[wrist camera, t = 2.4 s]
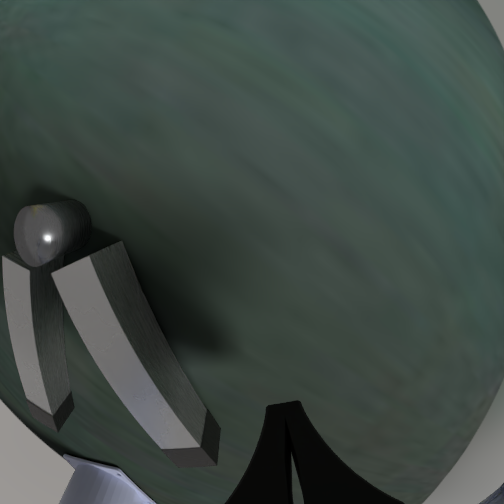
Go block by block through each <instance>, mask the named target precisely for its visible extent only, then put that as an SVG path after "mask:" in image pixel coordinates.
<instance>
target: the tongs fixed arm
mask: <svg viewBox="0 0 504 504" xmlns="http://www.w3.org/2000/svg"><path fill="white" fill-rule="evenodd" d="M91 228H92V226H91V218H90V215H89V212H88V210H87V209H86V207H85V206H84V205H83V204H82V203H81V202H79V201H76V200H67V201H59V202H51V203H44V204H37V205H30V206H26V207H24V208H23V209H21V210H20V212H19V213H18V215H17V217H16V220H15V225H14V240H15V245H16V248H17V251H14V252H11V253H8V254H6V255H3V256H2V265H3V284H4V295H5V305H6V312H7V319H8V326H9V331H10V337H11V342H12V347H13V351H14V355H15V360H16V364H17V367H18V371H19V375H20V378H21V382H22V385H23V388H24V391H25V394H26V397H27V400H26V401H27V404H28V406H29V409H30V412H31V414H32V417H34V418H35V419H37V420H38V421H40V422H41V423H43V424H44V425H46V426H48V427H49V428H51V429H53V430H54V431H56V432H59V430H60V429H61V427H62V426H63V424H64V423H65V421H66V420H67V418H68V417H69V415H70V414H71V412H72V411H73V409H74V403H73V398H72V392H71V390H70V384H69V377H68V370H67V362H66V354H65V343H64V329H63V300H62V298H61V296H60V293H59V291H58V289H57V287H56V284H55V282H54V279H53V277H52V274H51V273H53V272H55V271H57V270H59V269H61V268H63V263H64V255H66V254H68V253H70V252H73V251H75V250H78V249H80V248H82V247H83V246H84V245H85V244H86V243H87V242H88V240H89V238H90V235H91Z"/></svg>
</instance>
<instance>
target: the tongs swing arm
mask: <svg viewBox="0 0 504 504" xmlns="http://www.w3.org/2000/svg"><path fill="white" fill-rule="evenodd" d="M51 274H52V277H53V279H54V282H55V284H56V287H57V289H58V291H59V293H60V296H61V298H62V300H63V302H64V305H65V307H66V309H67V311H68V313H69V315H70V317H71V319H72V321H73V323H74V325H75V327H76V329H77V331H78V332H79V334H80V336H81V338H82V340H83V342H84V343H85V345H86V347H87V349H88V350H89V352H90V354H91V355H92V357H93V359H94V360H95V362H96V364H97V365H98V367H99V368H100V370H101V371H102V373H103V375H104V376H105V378H106V379H107V381H108V382H109V384H110V385H111V386H112V388H113V389H114V391H115V392H116V394H117V395H118V396H119V398H120V399H121V400H122V402H123V403H124V405H125V406H126V407H127V408H128V410H129V411H130V412H131V414H132V415H133V416H134V417H135V419H136V420H137V421H138V422H139V424H140V425H141V426H142V427H143V428H144V430H145V431H146V432H147V433H148V434H149V435H150V437H151V438H152V439H153V440H154V441H155V442H156V443H157V444H158V445H159V447H160V448H161V450H162V451H163V452H164V454H165V455H166V456H167V457H168V458H169V459H170V460H171V461H172V462H173V463H174V464H175V465H176V466H177V467H178V468H183V467H205V466H217V461H218V451H219V441H220V431H221V428H220V427H219V425H218V424H217V422H216V421H215V419H214V418H213V416H212V415H211V413H210V412H209V410H208V409H206V407H205V406H204V404H203V403H202V401H201V400H200V398H199V396H198V395H197V393H196V392H195V390H194V388H193V387H192V385H191V383H190V382H189V380H188V378H187V377H186V375H185V373H184V371H183V370H182V368H181V366H180V364H179V363H178V361H177V359H176V357H175V355H174V353H173V352H172V350H171V348H170V346H169V344H168V342H167V340H166V338H165V336H164V334H163V333H162V331H161V329H160V327H159V325H158V323H157V321H156V318H155V316H154V314H153V312H152V310H151V308H150V306H149V304H148V302H147V299H146V297H145V295H144V293H143V290H142V288H141V286H140V284H139V281H138V279H137V277H136V274H135V272H134V269H133V267H132V265H131V262H130V260H129V257H128V255H127V252H126V249H125V247H124V244H123V241H120V242H118V243H115V244H113V245H111V246H108V247H106V248H104V249H101V250H99V251H97V252H95V253H92V254H90V255H88V256H86V257H84V258H82V259H79V260H77V261H75V262H73V263H71V264H69V265H67V266H65V267H63V268H61V269H59V270H57V271H55V272H53V273H51Z"/></svg>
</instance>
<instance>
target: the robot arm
mask: <svg viewBox="0 0 504 504" xmlns="http://www.w3.org/2000/svg"><path fill="white" fill-rule="evenodd" d="M291 452H292V456H293V460H294V463H295V467H296V471H297V474H298V478H299V482H300V485H301V489H302V494H303V498H304V504H404V503H403V502H401V501H399V500H397V499H395V498H393V497H391V496H389V495H388V494H386V493H384V492H382V491H381V490H379V489H377V488H376V487H374V486H373V485H371V484H370V483H368V482H367V481H366V480H364V479H363V478H362V477H360V476H359V475H358V474H356V473H355V472H354V471H353V470H352V469H350V468H349V467H348V466H347V465H346V464H345V463H344V462H343V461H342V460H341V459H340V458H339V457H338V456H337V455H336V454H335V453H334V452H333V451H332V450H331V449H330V447H329V446H328V445H327V444H326V443H325V441H324V440H323V439H322V438H321V436H320V435H319V433H318V432H317V431H316V429H315V428H314V426H313V425H312V423H311V422H310V420H309V418H308V417H307V415H306V413H305V411H304V409H303V407H302V404H301V402H300V401H298V400H297V401H291V402H286V403H280V404H274V405H268V406H267V407H266V414H265V420H264V424H263V428H262V432H261V435H260V438H259V441H258V444H257V447H256V450H255V452H254V454H253V457H252V459H251V461H250V464H249V466H248V468H247V470H246V472H245V473H244V475H243V477H242V479H241V481H240V482H239V484H238V485H237V487H236V488H235V490H234V492H233V493H232V494H231V496H230V497H229V499H228V500H227V501H226V503H225V504H293V494H292V462H291ZM63 457H64V458H65V459H66V460H67V461H68V462H69V464H70V465H71V466H72V467H73V468H74V469H75V472H74V473H73V476H72V478H71V479H70V482H69V484H68V486H67V488H66V490H65V492H64V494H63V496H62V499H61V500H60V503H59V504H156V503H155V502H154V501H153V500H152V499H151V498H149V497H148V496H147V495H146V494H145V493H144V492H143V491H142V490H141V489H140V488H139V487H137V486H136V485H135V484H134V483H133V482H132V481H131V480H130V479H129V478H128V477H127V476H126V475H125V474H124V473H123V472H122V471H121V470H120V469H119V468H117V467H113V466H108V465H104V464H99V463H95V462H91V461H88V460H84V459H80V458H77V457H74V456H70V455H67V454H64V455H63ZM479 504H504V483H503V484H502V486H501V487H500V488H499V489H497V490H496V491H495V492H494V493H493V494H491V495H490V496H489V497H487V498H486V499H485V500H483V501H482V502H481V503H479Z"/></svg>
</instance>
